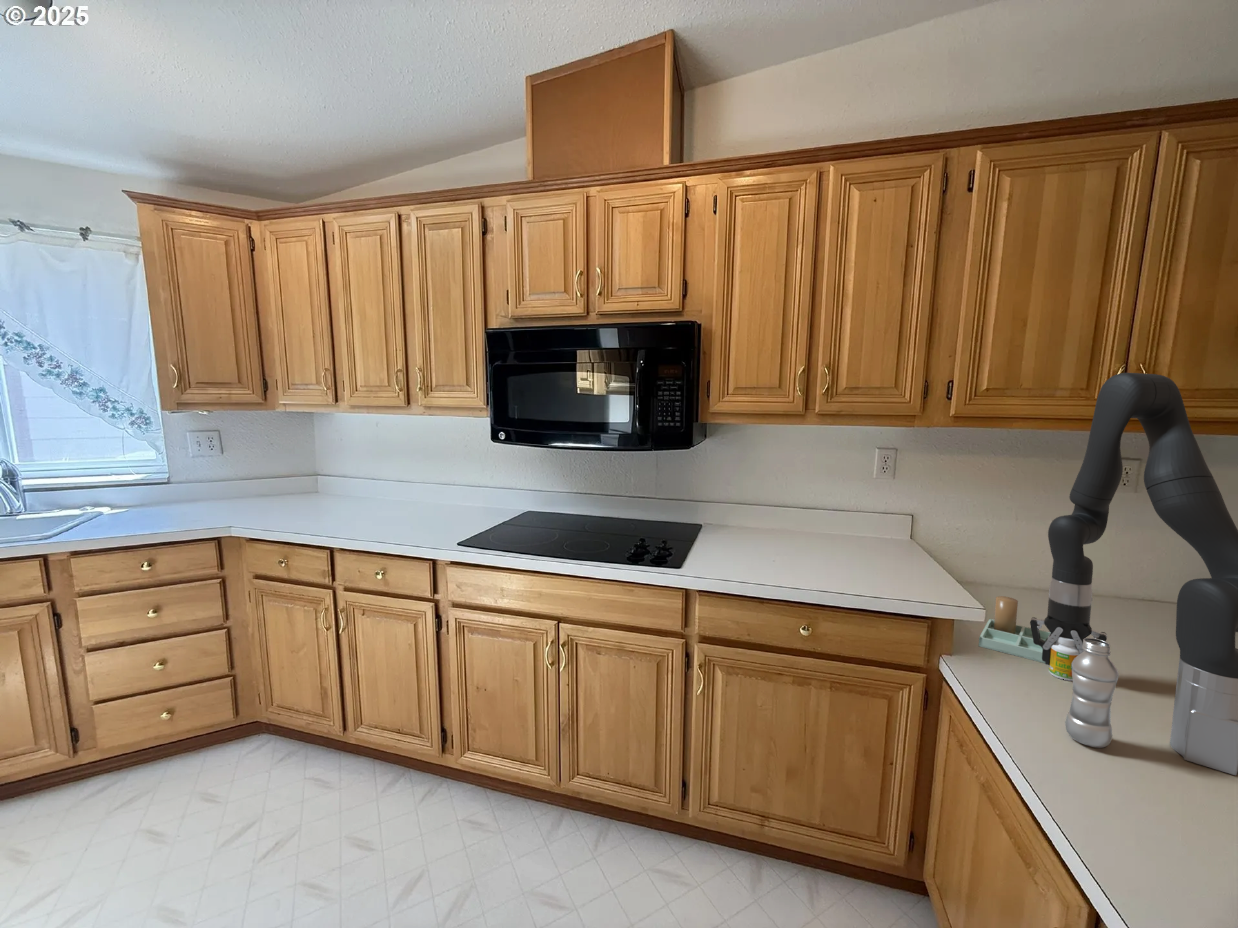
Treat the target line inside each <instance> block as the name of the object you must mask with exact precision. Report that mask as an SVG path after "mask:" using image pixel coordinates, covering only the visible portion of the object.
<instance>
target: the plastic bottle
mask: <svg viewBox="0 0 1238 928" xmlns="http://www.w3.org/2000/svg"><path fill="white" fill-rule="evenodd" d="M1082 649H1083V650H1084V652H1082V653H1081V654H1079V655H1078V656H1077V657H1075V658H1074V660H1073V661H1072V678H1073V681H1072V697H1071V702H1070V707H1069V710H1068V711H1067V714H1066V718H1065V721H1064V723H1065V730H1066V733H1067V734H1068V735H1069V737H1070V738H1072V740H1074V741H1076V742H1078V743H1080V744H1083V745H1084V746H1088V747H1092V748H1097V749H1098V748H1099V749H1101V748H1105V747H1107V746H1109V745H1111V741H1112V740H1113V726H1112V724H1111V723H1112V722H1111V717H1112V715H1111V713H1112V712H1111V706H1112V701H1113V696H1114V692H1115V689H1116V687H1117V683H1118V680H1119V677H1120V675H1119V671H1118V668H1117V667H1116V665H1115V664H1114V662H1113V661H1112V660H1111V658H1110V656H1111V644H1110V643H1109V642H1107V641H1106V642H1105V641H1102V640H1099V639H1094V638H1093V637H1086V638H1084V639H1083V645H1082Z"/></svg>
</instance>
